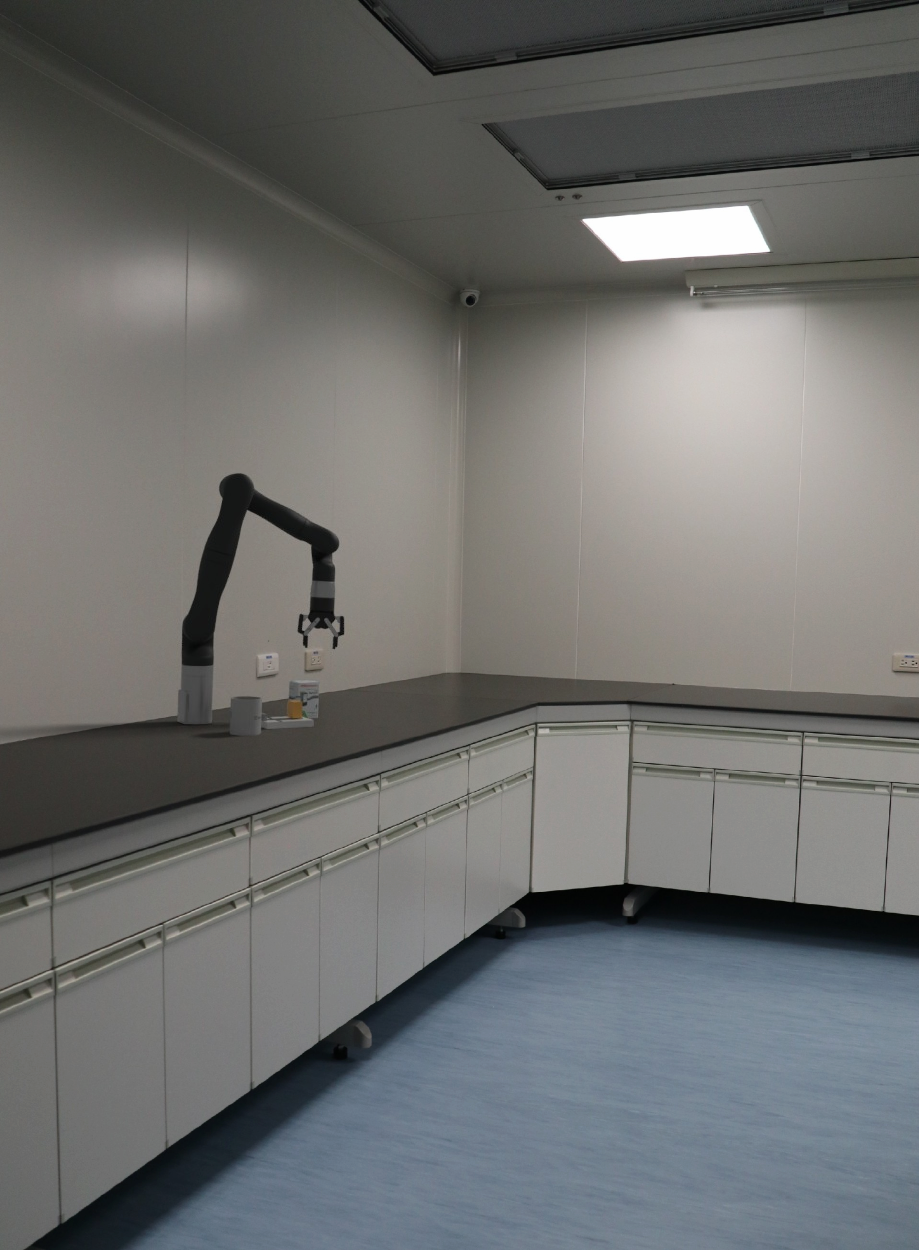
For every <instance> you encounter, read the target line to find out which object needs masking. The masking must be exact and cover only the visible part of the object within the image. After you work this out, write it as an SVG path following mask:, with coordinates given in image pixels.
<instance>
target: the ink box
mask: <svg viewBox="0 0 919 1250" xmlns="http://www.w3.org/2000/svg"><path fill="white" fill-rule="evenodd" d="M288 685H289V686H288V701H292V700H297V701H301V702H302V717H305V718H308V719H312V720H313V719H318V718H319V701H320V700H319V698H320V697H319V696H320V682H319V681H318V680H311V679H304V680H303V679H300V680H299V679H298V680H290V681H289V684H288Z"/></svg>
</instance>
